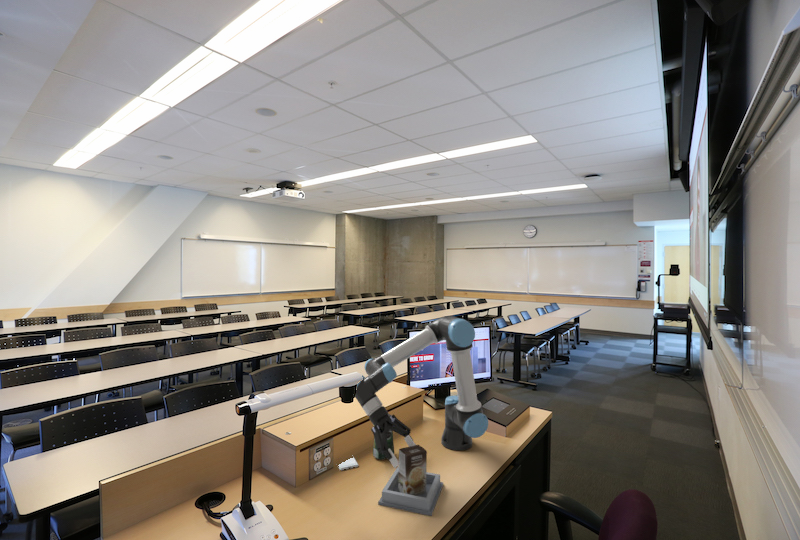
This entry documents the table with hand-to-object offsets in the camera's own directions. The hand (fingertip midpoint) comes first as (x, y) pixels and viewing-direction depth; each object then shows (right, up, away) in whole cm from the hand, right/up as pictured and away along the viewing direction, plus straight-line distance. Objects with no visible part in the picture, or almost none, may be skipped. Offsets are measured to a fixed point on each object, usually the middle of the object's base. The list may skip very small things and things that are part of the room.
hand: (407, 458), depth 145 cm
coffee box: (+2, -13, 0) cm, 13 cm away
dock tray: (+2, -14, -1) cm, 14 cm away
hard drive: (-27, -14, +23) cm, 38 cm away
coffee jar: (-10, -13, +29) cm, 33 cm away
